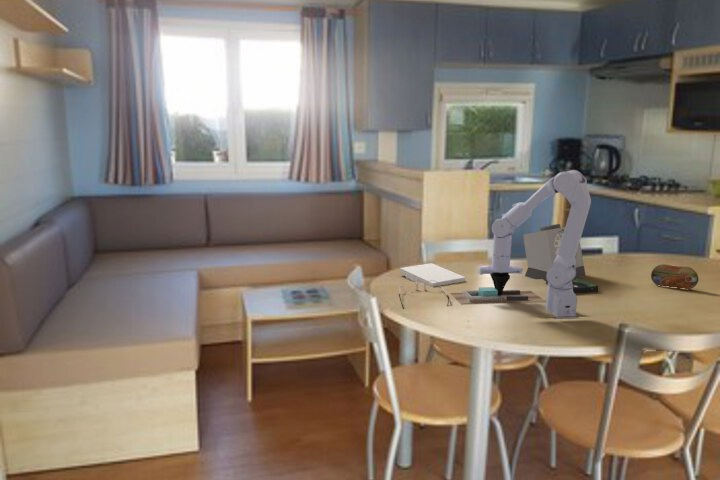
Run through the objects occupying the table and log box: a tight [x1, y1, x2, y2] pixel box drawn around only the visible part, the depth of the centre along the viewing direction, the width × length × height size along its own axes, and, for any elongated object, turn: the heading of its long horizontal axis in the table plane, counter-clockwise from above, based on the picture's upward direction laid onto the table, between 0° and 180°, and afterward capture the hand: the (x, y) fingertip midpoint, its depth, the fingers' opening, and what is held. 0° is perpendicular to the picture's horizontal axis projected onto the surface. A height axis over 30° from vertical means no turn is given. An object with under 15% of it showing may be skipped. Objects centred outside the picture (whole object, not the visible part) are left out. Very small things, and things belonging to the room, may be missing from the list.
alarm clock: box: [522, 223, 586, 282], centre depth 218 cm, size 20×16×20 cm
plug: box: [478, 286, 498, 296], centre depth 186 cm, size 4×5×3 cm
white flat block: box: [399, 262, 466, 287], centre depth 210 cm, size 15×3×20 cm
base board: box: [450, 290, 547, 306], centre depth 187 cm, size 12×29×1 cm, turn 99°
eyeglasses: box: [398, 279, 450, 310], centre depth 185 cm, size 16×19×5 cm
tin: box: [650, 263, 699, 290], centre depth 206 cm, size 15×3×8 cm, turn 62°
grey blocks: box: [502, 289, 528, 301], centre depth 188 cm, size 7×7×1 cm
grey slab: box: [461, 289, 502, 302], centre depth 186 cm, size 7×11×2 cm, turn 99°
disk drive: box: [545, 278, 599, 295], centre depth 202 cm, size 10×3×15 cm
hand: (498, 294), depth 187 cm, fingers closed
